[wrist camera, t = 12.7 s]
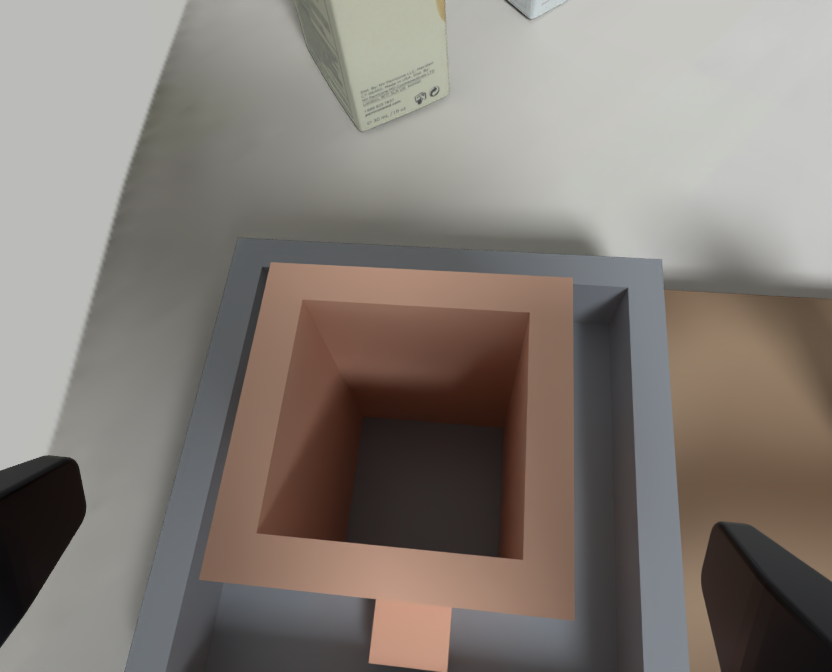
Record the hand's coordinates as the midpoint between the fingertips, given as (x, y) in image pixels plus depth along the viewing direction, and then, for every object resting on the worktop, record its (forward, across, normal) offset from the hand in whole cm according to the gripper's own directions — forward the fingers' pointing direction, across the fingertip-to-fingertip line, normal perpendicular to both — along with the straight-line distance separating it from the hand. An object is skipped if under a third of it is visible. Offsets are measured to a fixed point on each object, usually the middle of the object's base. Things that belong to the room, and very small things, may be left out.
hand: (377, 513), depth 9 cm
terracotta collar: (+8, 0, +5) cm, 10 cm away
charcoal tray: (+9, 0, +6) cm, 11 cm away
